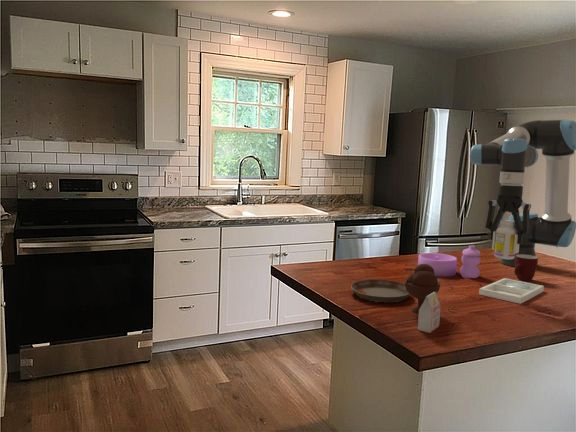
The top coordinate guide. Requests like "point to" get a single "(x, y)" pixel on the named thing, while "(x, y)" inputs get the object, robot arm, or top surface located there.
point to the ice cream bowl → (421, 284)
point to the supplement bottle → (505, 240)
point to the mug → (525, 266)
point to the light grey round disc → (518, 286)
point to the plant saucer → (380, 290)
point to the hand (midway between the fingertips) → (505, 251)
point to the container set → (453, 263)
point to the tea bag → (429, 314)
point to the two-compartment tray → (511, 291)
